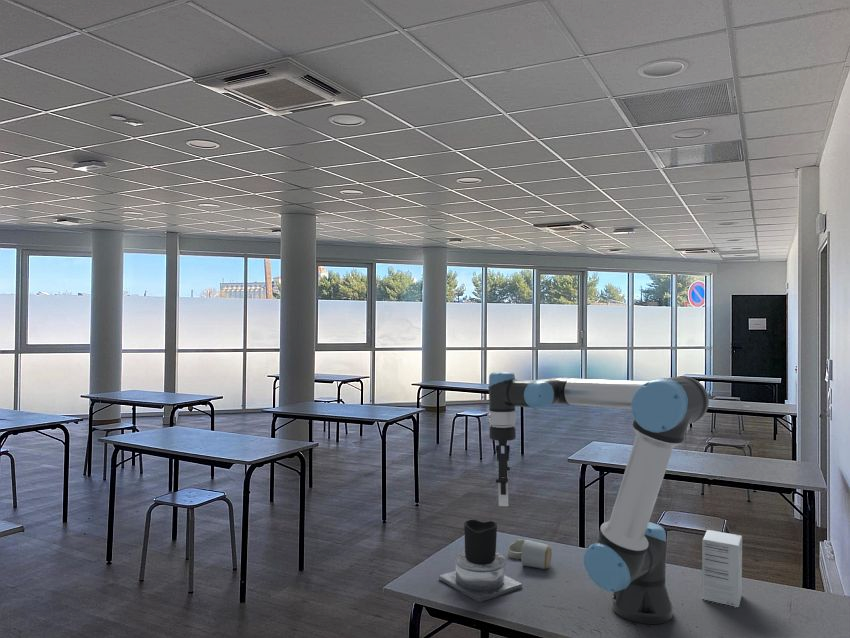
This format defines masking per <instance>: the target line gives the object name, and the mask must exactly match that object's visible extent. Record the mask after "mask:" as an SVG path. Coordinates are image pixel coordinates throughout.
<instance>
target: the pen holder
mask: <svg viewBox="0 0 850 638" xmlns="http://www.w3.org/2000/svg"><path fill="white" fill-rule="evenodd" d="M463 525H464V527H463V530H464V551H465V557H466V559H467V560H468V561H469V562H472V563H475V564H488V563H491V562H493V561H494V560H495V556H496V552H497V533H498V532H497V531H498V524H497V523H496V522H495V521H493V520H490V521H489V520H488V521H479V520H476V519H469V520H465V521H464V523H463Z"/></svg>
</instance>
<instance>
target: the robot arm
mask: <svg viewBox="0 0 850 638" xmlns="http://www.w3.org/2000/svg"><path fill="white" fill-rule="evenodd" d="M487 388H488V403H489V409H488V410H489V411H488V412H489V413H487V415H486V417H487V418H489V424H490V426H489V438H490V440H492V441H498V444H495V453H496V461H497V462H498V479H497V478H496V479H495V483H497V484H498V485H497V487H498V488H497V489H498V491H497V492H498V496H497V497H498V507H509V471H510V470H511V467H510V466H508V465H509V464H508V462H509V461H510V453H511V451H510V450H511V449H510V448H511V446H510V444H508V441H509V442H510V441H514V440H515V439H516V438H517V437H516V433H517V432H516V429H517V428H516V426H515V424H516V421H517V420H516V418H517V416H516V407H521V408H530V409H534V410H537V409H547V408H549V407H550V405H567V406H571V405H572V406H573V405H574V406H585V407H600V408H611V409H622V410H623V409H624V410H631V414H632V415H633V421H632V429H633V430H634V432H635V438H634V441H633V445H632V448H631V451H630V455H629V458H628V461H627V464H626V466H625V470H624V472H623V473H624V474H623V477H622V480H621V483H620V485H619V489H618V493H617V496H616V499H615V502H614V505H613V508H612V511H611V514H610V518H609V520H608V521H605V522H603V523H602V524H601V525H600V528H599V531H598V535H597V538H596V541H595V543H592V544H590V545H589V546H588V548H586V550H585V551H584V555H583V564H584V568H585V571H586V572H587V575H588V577H589V579H590V580H591V581H592V582H593V583H594V585H596V586H597V587H598V588H600V589H602V590H604V591H606V592H610V593H613V594H612V597H611V608H612V611H613V612H614V613H616V615H618V616H620V617H621V618H623V619H625V620H628V621H631V622H635V623H640V624H643V625H647V624H648V625H659V624H664V623H668V622H669V621H671V619H672V618H673V612H674V611H673V610H674V609H673V605H672V602H671V601H672V600H671V597H670V594H669V592H668V587H667V585H666V580H667V579H666V578H667V577H666V574H667V571H666V570H667V542H668V541H667V536H666V530H665V528H664V527H663V526H661V525H659V524H656V523H654V522H650V520H651V516H652V515H653V511H654V507H655V505H656V502H657V498H658V496H659V495H658V494H659V492H660V489H661V487H662V483H663V480H664V477H665V474H666V470H667V468H668V465H669V461H670V459H671V456H672V452H673V449H674V447H677V446H679V445H682V444H683V442H684V439H685V438H686V437H685V436H686V433H687V430H688V428H689V425H691V424H694V423H697V422H698V421H699V420H701V419H702V418H703V417H704V416H705V415H706V412H707V411H708V409H709V406H710V405H709V404H710V399H709V398H710V397H709V395H708V392H707V389H706V388H705V386H704V385H703V384H702V383H701V382H700V381H698V380H696V379H695V378H692V377H690V376H684V375H681V376H680V375H679V376H673V377H668V378H667V377H657V378H654V379H652V380H648V381H643V380H621V379H620V380H619V379H617V380H615V379H614V380H613V379H593V378H591V379H590V378H589V379H588V378H572V377H571V378H570V377H564V376H556V377H551V378H542V379H541V378H540V379H533V380H532V379H531V380H527V379H523V380H522V379H516V376H515V373H514V372H510V371H493V372H491V373H490V374H489V376H488V386H487Z"/></svg>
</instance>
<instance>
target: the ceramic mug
mask: <svg viewBox="0 0 850 638" xmlns="http://www.w3.org/2000/svg"><path fill="white" fill-rule="evenodd" d="M524 540H525V542H524V544H523V547H522V553H521V559H520V560H521V562H520V564H521V565H522V566H525V567H530V568H536V569H541V570H546V569H548V568H549V567H550V565H551V562H552V547H551V546H550V545H548V544H547V543H542V542H538V541H534V540H530V539H524Z"/></svg>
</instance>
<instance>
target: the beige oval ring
mask: <svg viewBox="0 0 850 638" xmlns="http://www.w3.org/2000/svg"><path fill="white" fill-rule="evenodd" d="M525 540H526V539H523V538H520V539H515V541H513V542H512V543H510V544H508V547H507V549H508V550H507V553H508V554H507V555H508V557H510V558H511V559H516V560H517V559H518V560H521V553H522V547H523V544H524V542H525Z"/></svg>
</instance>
